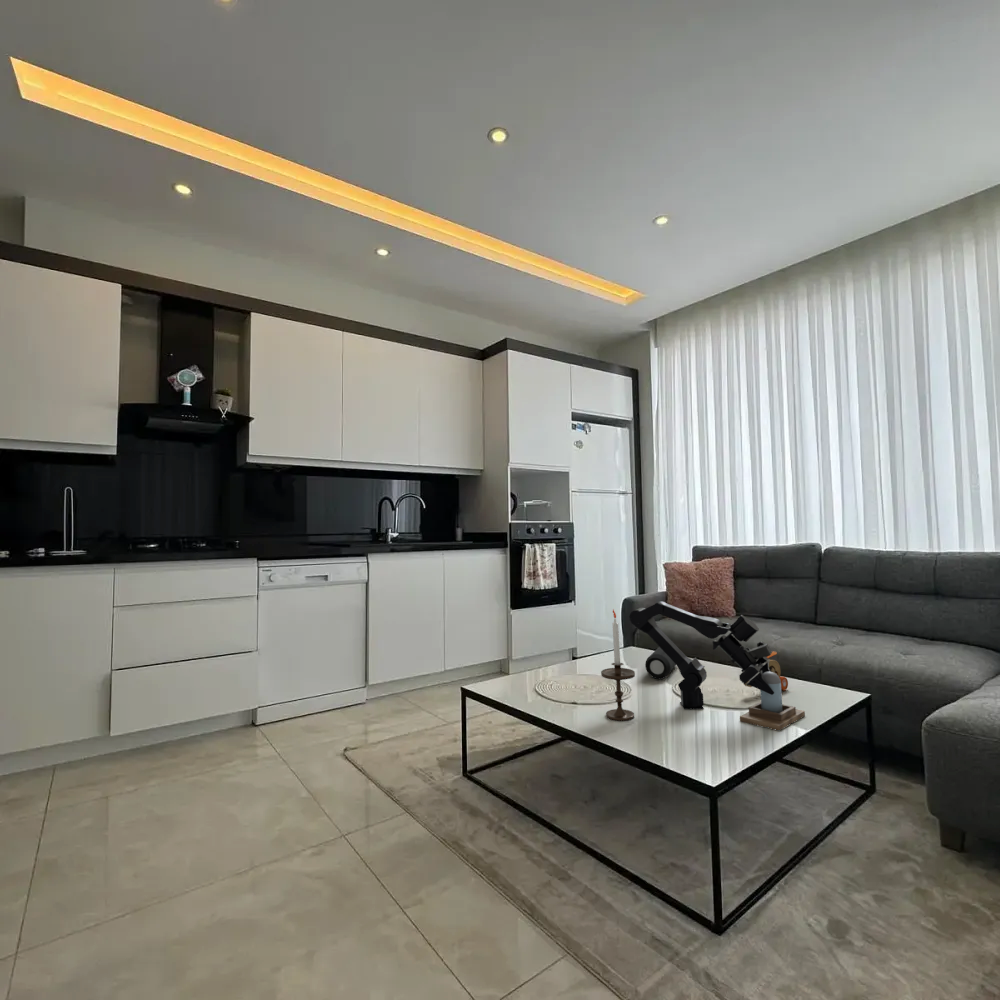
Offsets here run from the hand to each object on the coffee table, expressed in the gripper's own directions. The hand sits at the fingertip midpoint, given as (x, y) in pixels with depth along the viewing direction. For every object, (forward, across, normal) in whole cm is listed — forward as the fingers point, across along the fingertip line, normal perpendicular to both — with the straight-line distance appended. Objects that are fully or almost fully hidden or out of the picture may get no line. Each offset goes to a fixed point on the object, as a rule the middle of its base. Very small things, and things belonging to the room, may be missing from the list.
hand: (775, 689), depth 174 cm
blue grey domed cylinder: (+4, 0, +6) cm, 8 cm away
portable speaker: (-28, +38, +41) cm, 62 cm away
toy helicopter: (+1, +28, +12) cm, 31 cm away
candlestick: (-24, -20, +38) cm, 49 cm away
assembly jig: (+5, 0, +7) cm, 9 cm away
